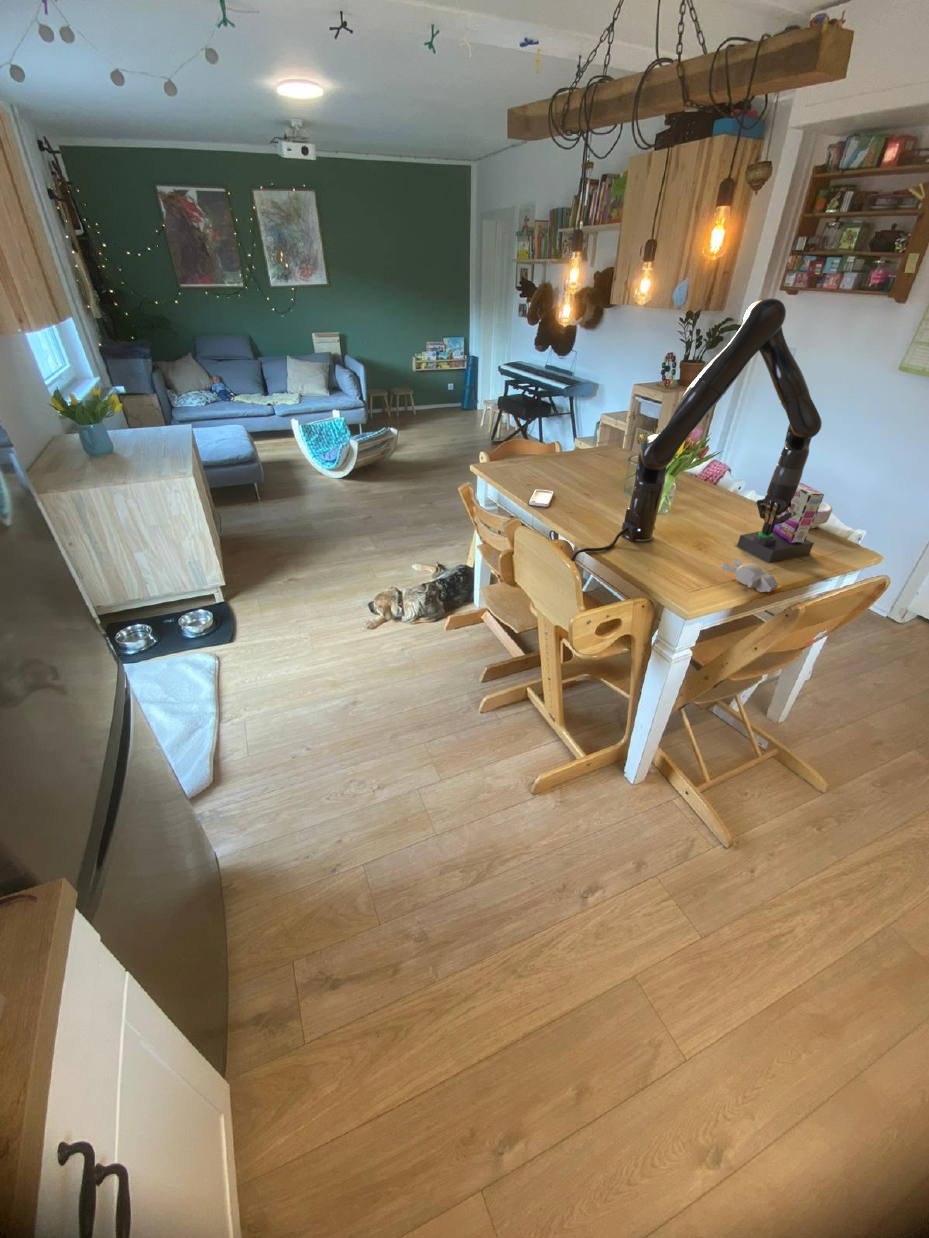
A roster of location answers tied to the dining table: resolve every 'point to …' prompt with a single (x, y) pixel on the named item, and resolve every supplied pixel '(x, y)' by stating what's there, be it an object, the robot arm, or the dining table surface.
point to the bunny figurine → (752, 576)
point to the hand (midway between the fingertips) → (766, 533)
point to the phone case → (541, 498)
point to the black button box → (773, 547)
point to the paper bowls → (822, 514)
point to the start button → (765, 535)
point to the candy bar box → (800, 514)
